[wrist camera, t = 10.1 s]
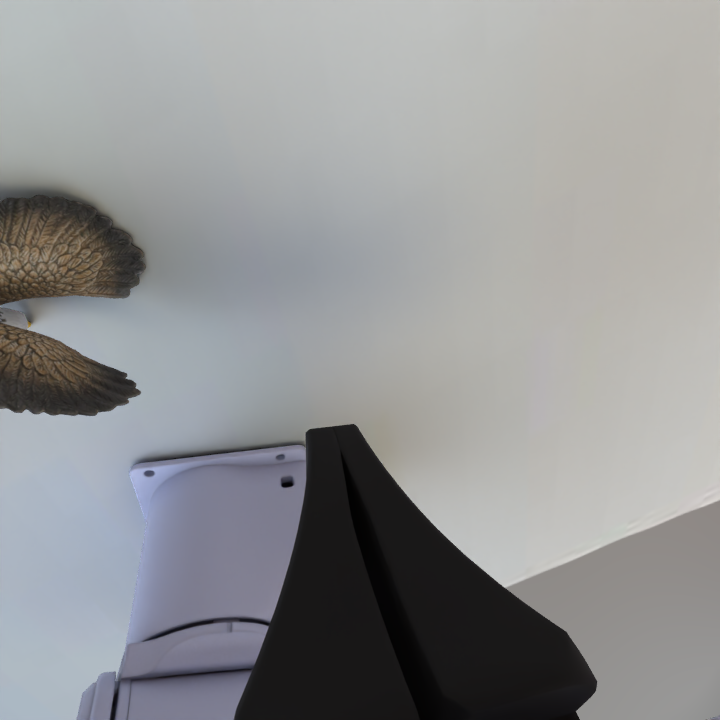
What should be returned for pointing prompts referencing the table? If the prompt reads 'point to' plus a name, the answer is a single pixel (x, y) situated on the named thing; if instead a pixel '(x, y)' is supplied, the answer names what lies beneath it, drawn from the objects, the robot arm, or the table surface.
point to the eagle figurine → (56, 279)
